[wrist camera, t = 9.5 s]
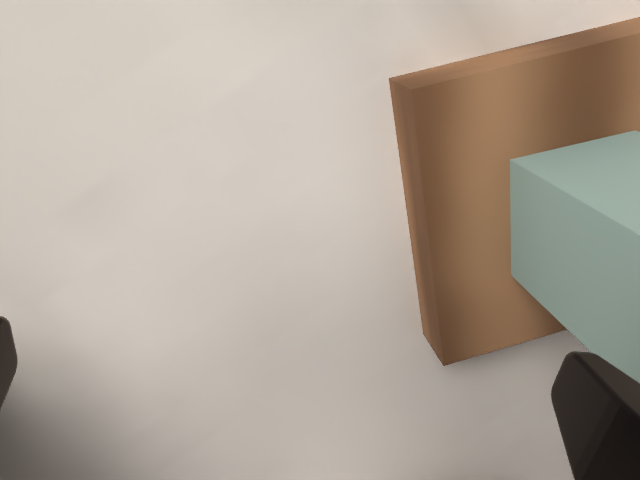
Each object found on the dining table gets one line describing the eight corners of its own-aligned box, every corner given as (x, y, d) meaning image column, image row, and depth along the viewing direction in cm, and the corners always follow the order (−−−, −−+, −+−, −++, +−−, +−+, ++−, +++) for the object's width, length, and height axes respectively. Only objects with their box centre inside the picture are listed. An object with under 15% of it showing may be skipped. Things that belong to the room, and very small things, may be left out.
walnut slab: (419, 326, 26) (443, 365, 23) (384, 76, 21) (411, 89, 18) (645, 261, 27) (693, 291, 24) (668, 6, 22) (733, 9, 19)
